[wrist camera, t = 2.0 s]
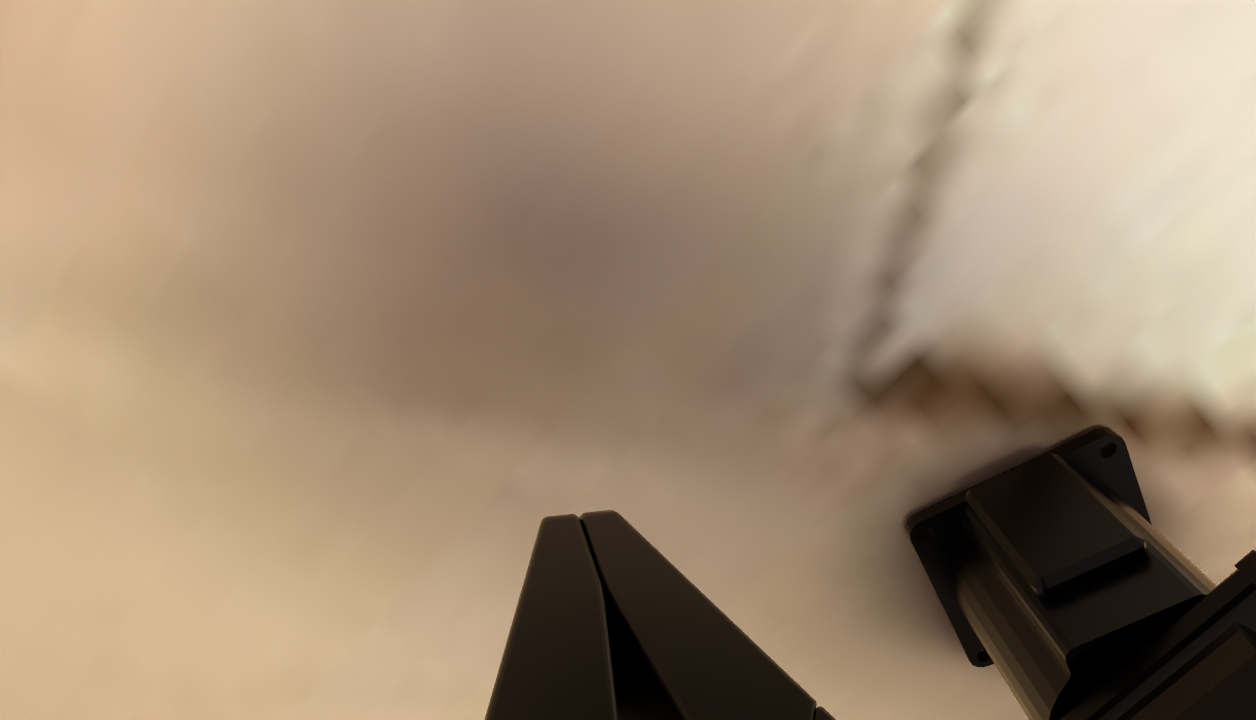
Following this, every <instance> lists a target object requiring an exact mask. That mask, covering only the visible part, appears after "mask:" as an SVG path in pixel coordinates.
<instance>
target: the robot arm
mask: <svg viewBox="0 0 1256 720" xmlns="http://www.w3.org/2000/svg"><path fill="white" fill-rule="evenodd" d="M1105 443H1108V444H1107V446H1106V447H1105V448H1104V449H1102V450H1099V449H1100V448H1101V446H1102V445H1104V444H1105ZM927 526H929V528H928V529H927V530H926V531H924V532H920V533H919V531H920V530H921V529H922V528H923V527H927ZM905 532H906V534H907V536H908V539H909V541H910V543H911V545H912V547H913V549H914V551H915V553H916V555H917V557H918V559H919V561H920V563H921V565H922V567H923V569H924V571H925V573H926V575H927V577H928V579H929V581H930V583H931V585H932V587H933V589H934V591H935V593H936V596H937V598H938V600H939V602H940V604H941V606H942V608H943V610H944V612H945V614H946V616H947V618H948V620H949V622H950V624H951V626H952V628H953V630H954V632H955V634H956V636H957V638H958V640H959V642H960V644H961V646H962V648H963V651H964V653H965V654H966V656H967V658H968V659H969V661H970V662H971V663H972V665H974V666H977V667H985V666H989V665H991V664H995V665H996V667H997V668H998V670H999V672H1000V673H1001V675H1002V676H1003V678H1004V680H1005V681H1006V683H1007V684H1008V686H1009V688H1010V689H1011V691H1012V692H1013V694H1014V696H1015V697H1016V699H1017V700H1018V702H1019V704H1020V705H1021V707H1022V708H1023V710H1024V712H1025V713H1026V715H1027V716H1028V718H1029V720H1256V551H1255V550H1252V551H1251V552H1250V553H1249V554H1247V555H1246V556H1245V557H1244V558H1243V559H1242V560H1240V561H1239V562H1238V563H1237V564H1236V565H1234V566H1235V567H1236V568H1237V570H1236V571H1235V572H1234V573H1232V574H1231V575H1230V576H1229V577H1228V578H1226V579H1225V580H1224V581H1223V582H1222V583H1220V584H1219V585H1218V586H1216V585H1215V584H1214V583H1213V582H1212V581H1211V580H1210V579H1209V578H1208V577H1207V576H1206V575H1204V574H1203V573H1202V572H1201V571H1200V570H1199V569H1198V568H1197V567H1196V566H1195V565H1194V564H1193V563H1192V562H1190V561H1189V560H1188V559H1187V558H1186V557H1185V556H1184V555H1183V554H1182V553H1181V552H1180V551H1179V550H1178V549H1176V548H1175V547H1174V546H1173V545H1172V544H1171V543H1170V542H1169V541H1168V540H1167V539H1166V538H1165V537H1164V536H1162V535H1161V534H1160V533H1159V532H1158V531H1157V530H1156V529H1155V528H1154V527H1153V526H1152V524H1151V521H1150V518H1149V515H1148V512H1147V509H1146V506H1145V503H1144V500H1143V497H1142V493H1141V490H1140V487H1139V484H1138V481H1137V478H1136V475H1135V472H1134V469H1133V466H1132V463H1131V459H1130V456H1129V453H1128V450H1127V447H1126V444H1125V442H1124V440H1123V439H1122V437H1120V436H1119V435H1118V434H1117V433H1116V432H1114V431H1113V430H1111V429H1109V428H1100V429H1096V430H1094V431H1092V432H1089V433H1087V434H1085V435H1083V436H1081V437H1079V438H1077V439H1074V440H1072V441H1070V442H1068V443H1066V444H1064V445H1061V446H1059V447H1057V448H1055V449H1053V450H1051V451H1049V452H1046V453H1044V454H1042V455H1040V456H1038V457H1036V458H1034V459H1031V460H1029V461H1027V462H1025V463H1023V464H1021V465H1018V466H1016V467H1014V468H1012V469H1010V470H1008V471H1006V472H1003V473H1001V474H999V475H997V476H995V477H993V478H991V479H988V480H986V481H984V482H982V483H980V484H978V485H975V486H973V487H971V488H969V489H967V490H965V491H963V492H960V493H958V494H956V495H954V496H952V497H950V498H948V499H945V500H943V501H941V502H939V503H937V504H935V505H933V506H930V507H928V508H926V509H924V510H922V511H920V512H917V513H915V514H914V515H912V516H911V517H910V518H909V519H908V520H907V522H906V524H905ZM981 650H983V651H981ZM816 705H817V704H816V701H815V700H814V699H813V698H812V697H811V696H810V695H809V694H808V693H807V692H806V691H805V690H804V689H803V688H802V687H801V686H799V685H798V684H797V683H796V682H795V681H794V680H793V679H792V678H791V677H790V676H789V675H788V674H787V673H786V672H785V671H784V670H783V669H782V668H781V667H779V666H778V665H777V664H776V663H775V662H774V661H773V660H772V659H771V658H770V657H769V656H768V655H767V654H766V653H765V652H764V651H763V650H762V649H761V648H760V647H758V646H757V645H756V644H755V643H754V642H753V641H752V640H751V639H750V638H749V637H748V636H747V635H746V634H745V633H744V632H743V631H742V630H741V629H740V628H738V627H737V626H736V625H735V624H734V623H733V622H732V621H731V620H730V619H729V618H728V617H727V616H726V615H725V614H724V613H723V612H722V611H721V610H720V609H719V608H717V607H716V606H715V605H714V604H713V603H712V602H711V601H710V600H709V599H708V598H707V597H706V596H705V595H704V594H703V593H702V592H701V591H700V590H699V589H698V588H696V587H695V586H694V585H693V584H692V583H691V582H690V581H689V580H688V579H687V578H686V577H685V576H684V575H683V574H682V573H681V572H680V571H679V570H678V569H676V568H675V567H674V566H673V565H672V564H671V563H670V562H669V561H668V560H667V559H666V558H665V557H664V556H663V555H662V554H661V553H660V552H659V551H658V550H657V549H655V548H654V547H653V546H652V545H651V544H650V543H649V542H648V541H647V540H646V539H645V538H644V537H643V536H642V535H641V534H640V533H639V532H638V531H637V530H635V529H634V528H633V527H632V526H631V525H630V524H629V523H628V522H627V521H626V520H625V519H624V518H623V517H622V516H621V515H620V514H619V513H617V512H615V511H612V510H607V511H598V512H588V513H583V514H582V515H581V516H580V518H579V517H578V516H576V515H575V514H568V515H559V516H549V517H545V518H544V519H543V520H542V521H541V524H540V528H539V531H538V535H537V538H536V542H535V545H534V549H533V552H532V556H531V559H530V563H529V566H528V570H527V573H526V577H525V580H524V584H523V587H522V591H521V594H520V598H519V601H518V605H517V608H516V612H515V615H514V619H513V622H512V626H511V629H510V633H509V636H508V640H507V643H506V647H505V650H504V654H503V657H502V661H501V664H500V668H499V671H498V675H497V678H496V682H495V685H494V689H493V692H492V696H491V699H490V703H489V706H488V710H487V713H486V717H485V720H836V719H835V718H834V717H832V716H831V715H830V714H829V713H828V712H827V711H826V710H825V709H824V708H823V707H821V706H820V707H817V708H816Z"/></svg>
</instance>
